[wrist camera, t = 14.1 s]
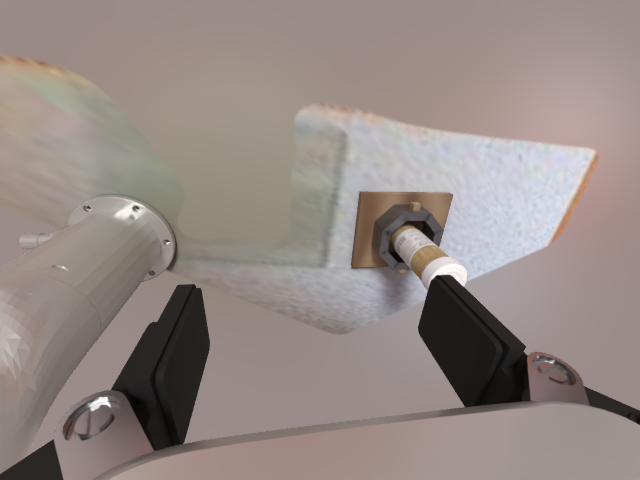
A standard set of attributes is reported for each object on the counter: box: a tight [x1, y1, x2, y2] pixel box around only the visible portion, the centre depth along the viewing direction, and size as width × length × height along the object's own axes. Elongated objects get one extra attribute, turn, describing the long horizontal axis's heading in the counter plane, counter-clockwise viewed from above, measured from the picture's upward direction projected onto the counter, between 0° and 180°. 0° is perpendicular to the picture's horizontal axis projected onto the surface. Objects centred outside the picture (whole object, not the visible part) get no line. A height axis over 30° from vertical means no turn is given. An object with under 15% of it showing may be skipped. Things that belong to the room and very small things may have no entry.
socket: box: [371, 202, 444, 273], centre depth 40 cm, size 9×11×4 cm
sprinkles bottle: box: [389, 221, 467, 290], centre depth 36 cm, size 5×5×13 cm
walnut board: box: [351, 192, 453, 267], centre depth 42 cm, size 14×12×1 cm
